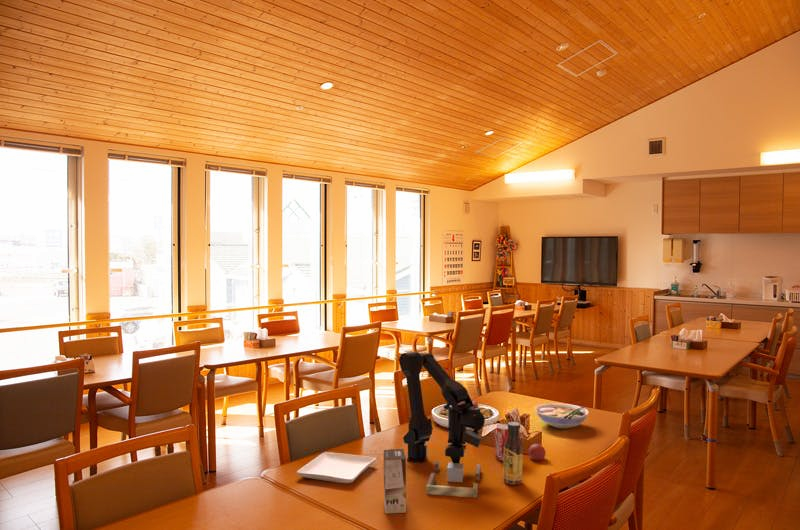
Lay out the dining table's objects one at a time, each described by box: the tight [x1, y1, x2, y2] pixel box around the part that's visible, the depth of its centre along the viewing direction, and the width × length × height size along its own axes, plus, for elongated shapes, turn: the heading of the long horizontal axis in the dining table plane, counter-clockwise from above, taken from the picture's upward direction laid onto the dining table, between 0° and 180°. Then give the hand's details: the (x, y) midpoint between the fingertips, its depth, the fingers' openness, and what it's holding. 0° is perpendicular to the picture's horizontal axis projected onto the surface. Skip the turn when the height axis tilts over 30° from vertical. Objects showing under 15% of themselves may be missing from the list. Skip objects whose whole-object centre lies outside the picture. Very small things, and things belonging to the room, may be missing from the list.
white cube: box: [446, 462, 464, 483], centre depth 194 cm, size 5×5×4 cm
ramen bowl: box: [534, 402, 590, 430], centre depth 251 cm, size 25×23×8 cm
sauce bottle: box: [502, 421, 524, 486], centre depth 190 cm, size 6×6×20 cm
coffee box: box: [383, 448, 407, 515], centre depth 173 cm, size 9×6×16 cm
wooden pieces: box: [426, 460, 481, 499], centre depth 191 cm, size 16×22×2 cm
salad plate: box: [296, 451, 377, 484], centre depth 200 cm, size 21×21×3 cm
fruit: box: [527, 443, 547, 462], centre depth 212 cm, size 6×6×8 cm
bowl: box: [431, 400, 500, 431], centre depth 259 cm, size 30×30×8 cm
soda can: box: [494, 423, 508, 462], centre depth 213 cm, size 7×7×12 cm
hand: (456, 468), depth 198 cm, fingers closed
